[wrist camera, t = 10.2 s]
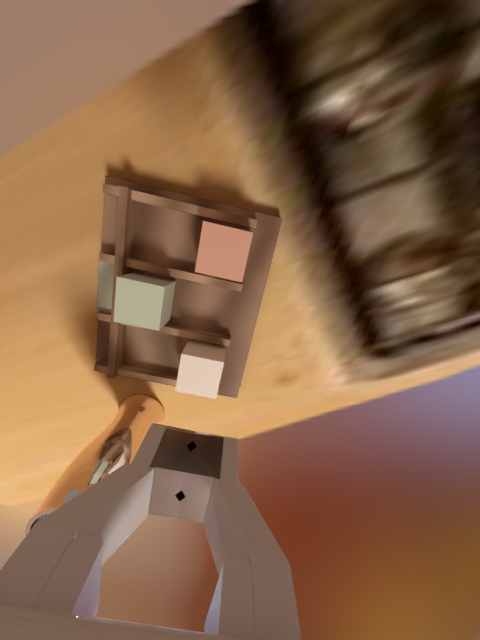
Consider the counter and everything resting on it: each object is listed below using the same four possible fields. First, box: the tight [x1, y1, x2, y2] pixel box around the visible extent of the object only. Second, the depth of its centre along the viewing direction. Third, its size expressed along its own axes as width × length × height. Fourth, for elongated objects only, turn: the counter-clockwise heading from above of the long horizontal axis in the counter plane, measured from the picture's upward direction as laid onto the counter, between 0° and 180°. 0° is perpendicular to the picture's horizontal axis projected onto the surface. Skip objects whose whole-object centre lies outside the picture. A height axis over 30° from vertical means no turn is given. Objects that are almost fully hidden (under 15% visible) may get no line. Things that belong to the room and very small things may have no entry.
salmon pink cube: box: [195, 221, 253, 282], centre depth 24 cm, size 4×4×4 cm
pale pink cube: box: [175, 339, 226, 399], centre depth 27 cm, size 4×4×4 cm
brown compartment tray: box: [94, 176, 282, 398], centre depth 27 cm, size 18×22×3 cm
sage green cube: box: [113, 272, 176, 331], centre depth 25 cm, size 4×4×4 cm
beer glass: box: [26, 394, 165, 536], centre depth 26 cm, size 7×7×15 cm
